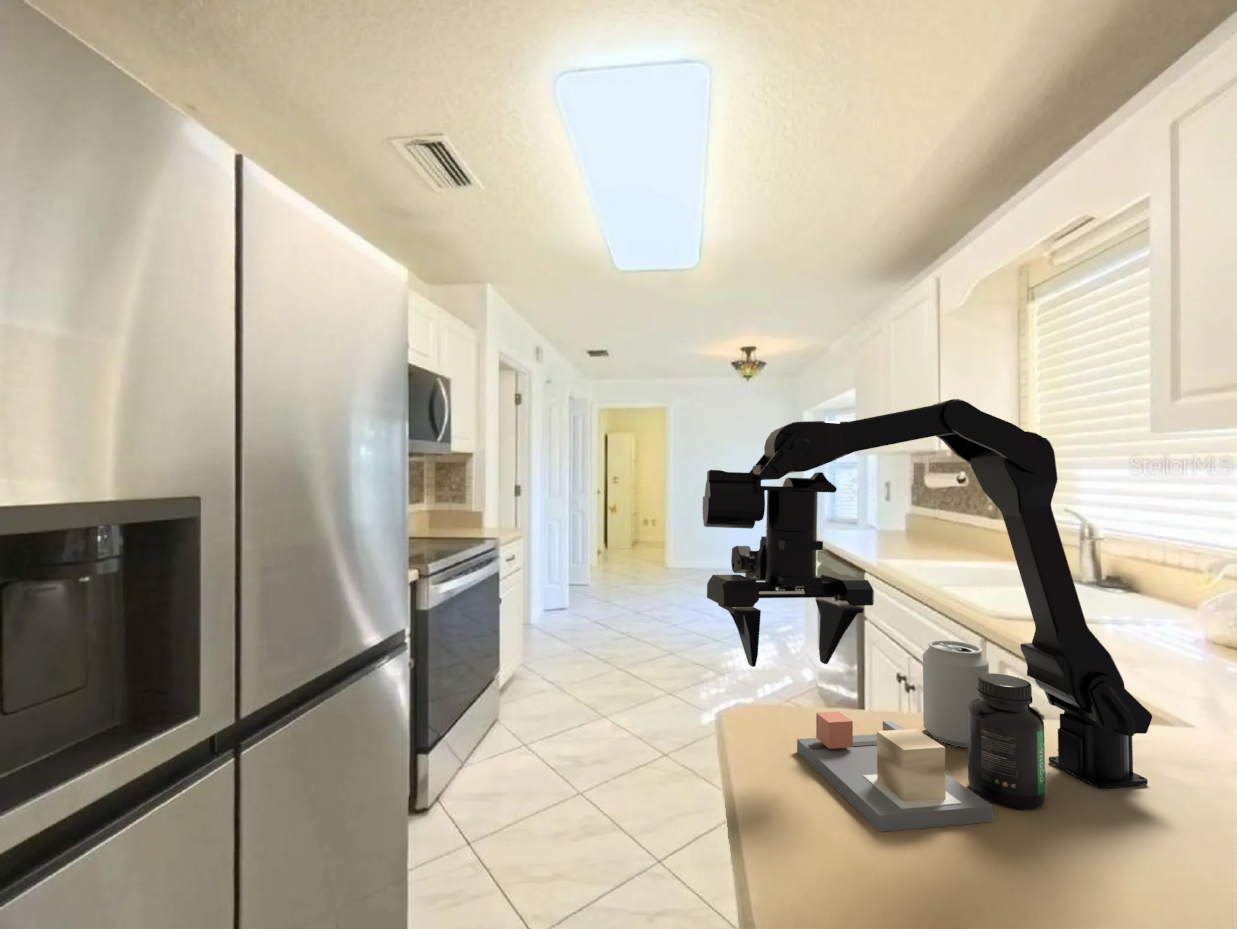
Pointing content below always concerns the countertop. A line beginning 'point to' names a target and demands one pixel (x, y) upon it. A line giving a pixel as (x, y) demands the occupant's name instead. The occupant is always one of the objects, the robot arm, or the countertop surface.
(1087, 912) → the countertop surface
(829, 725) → the salmon red cube
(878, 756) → the block
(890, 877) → the countertop surface
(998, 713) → the supplement bottle
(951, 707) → the can
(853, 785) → the base
